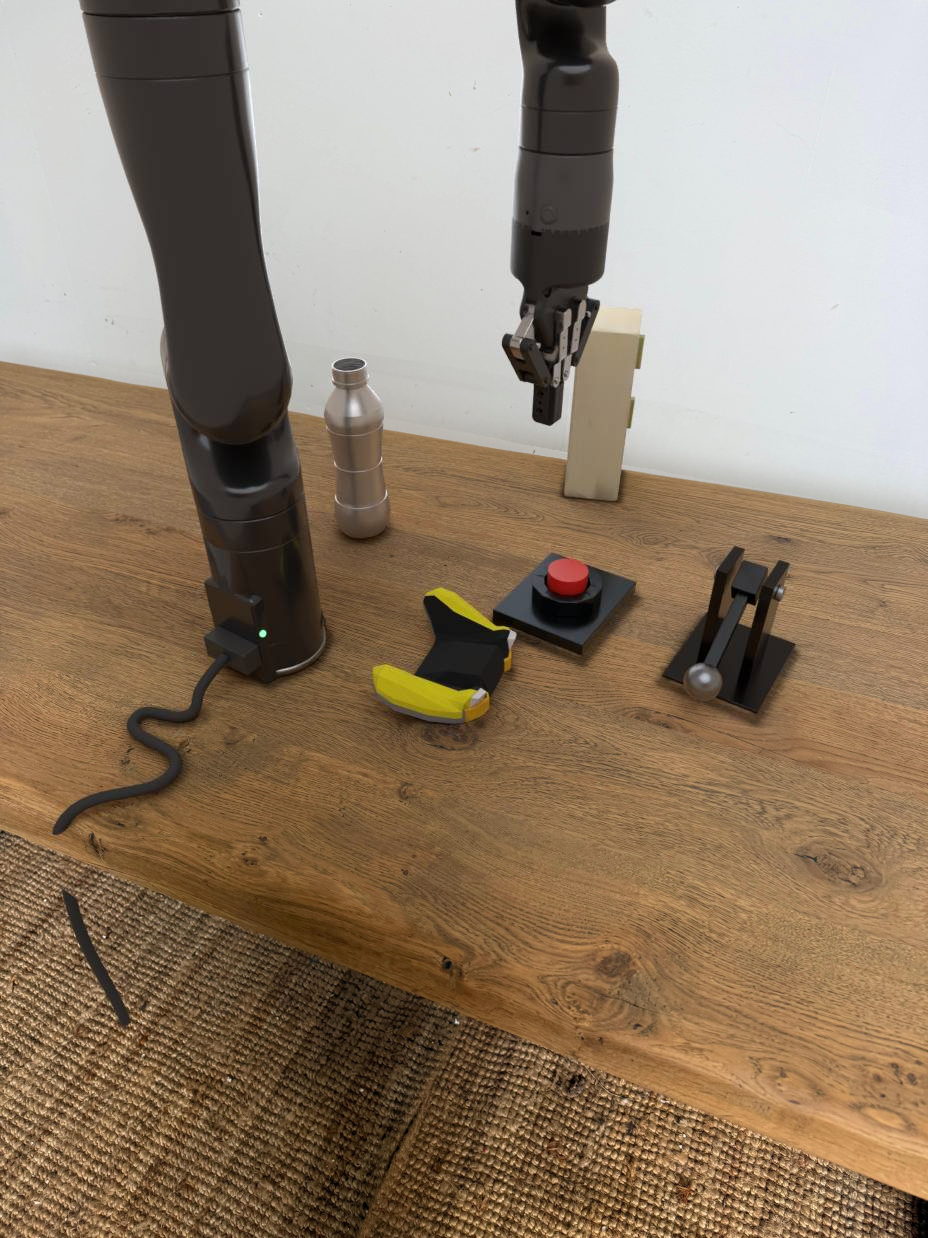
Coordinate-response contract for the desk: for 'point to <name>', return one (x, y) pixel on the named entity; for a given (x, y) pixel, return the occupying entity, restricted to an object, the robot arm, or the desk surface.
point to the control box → (564, 607)
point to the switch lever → (725, 632)
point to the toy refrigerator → (603, 404)
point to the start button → (567, 576)
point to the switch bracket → (739, 639)
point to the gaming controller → (450, 665)
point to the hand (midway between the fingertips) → (546, 420)
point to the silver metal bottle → (357, 450)
